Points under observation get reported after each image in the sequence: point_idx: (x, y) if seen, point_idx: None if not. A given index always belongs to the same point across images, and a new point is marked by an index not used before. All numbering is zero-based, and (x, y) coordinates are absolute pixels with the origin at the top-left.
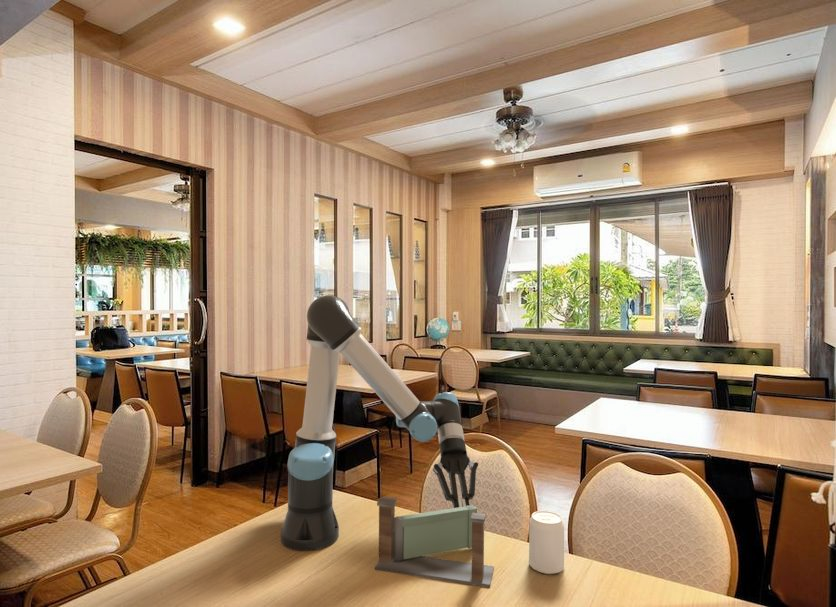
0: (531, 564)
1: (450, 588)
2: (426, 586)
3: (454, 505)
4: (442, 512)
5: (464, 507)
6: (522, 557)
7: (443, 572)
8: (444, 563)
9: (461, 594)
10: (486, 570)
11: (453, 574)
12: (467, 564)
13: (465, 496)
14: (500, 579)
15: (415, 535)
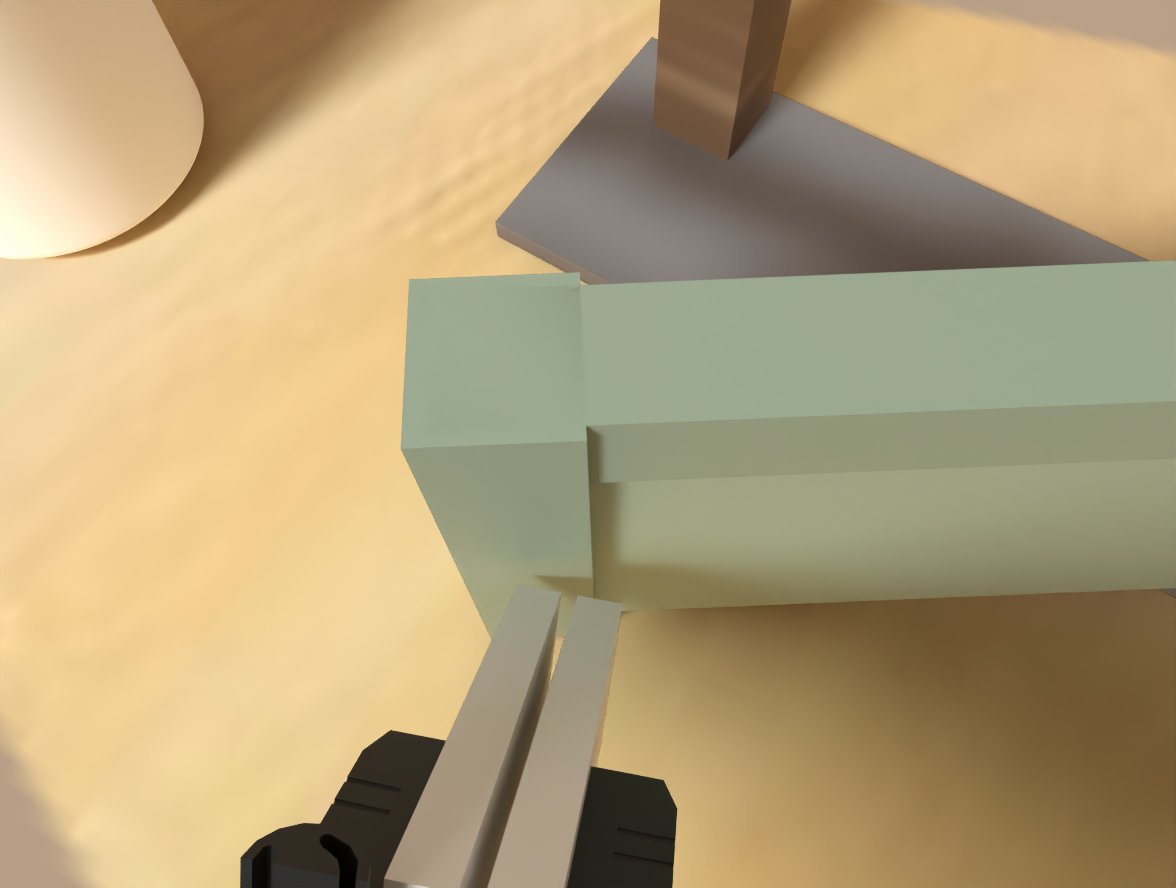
0: (193, 127)
1: (945, 109)
2: (1131, 170)
3: (672, 882)
4: (1137, 299)
5: (626, 382)
6: (142, 324)
7: (969, 248)
8: None
9: (883, 39)
10: (589, 185)
11: (889, 204)
12: None
13: (360, 853)
14: (524, 112)
15: None
